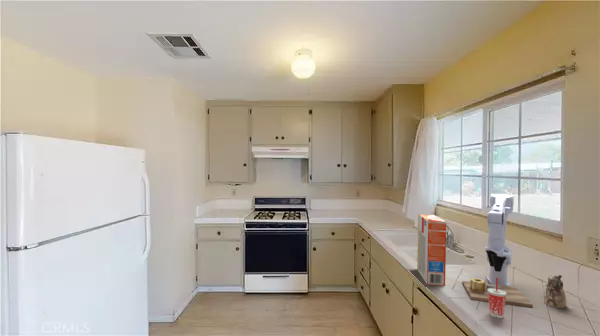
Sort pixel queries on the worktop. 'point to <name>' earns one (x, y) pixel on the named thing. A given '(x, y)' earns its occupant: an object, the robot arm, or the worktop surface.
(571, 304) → the worktop surface
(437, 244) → the orange cereal box
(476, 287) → the brass gear
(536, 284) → the worktop surface
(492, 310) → the beverage cup
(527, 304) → the carrier plate
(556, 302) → the figurine
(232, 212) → the worktop surface
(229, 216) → the worktop surface
